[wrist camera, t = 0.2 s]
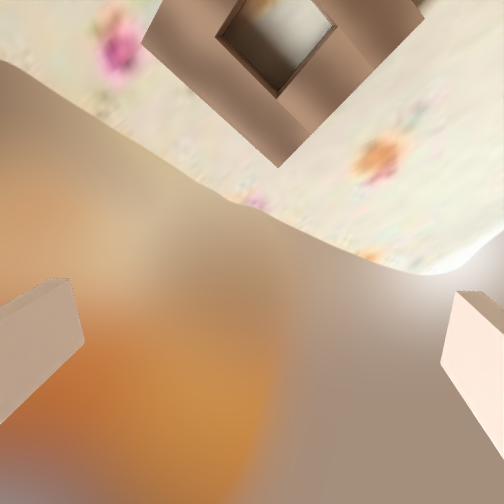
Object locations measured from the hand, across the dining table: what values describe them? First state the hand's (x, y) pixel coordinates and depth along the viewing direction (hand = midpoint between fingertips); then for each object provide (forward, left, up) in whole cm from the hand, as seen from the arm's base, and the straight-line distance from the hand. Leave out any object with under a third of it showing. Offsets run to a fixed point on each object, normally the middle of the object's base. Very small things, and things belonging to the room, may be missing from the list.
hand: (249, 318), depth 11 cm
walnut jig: (-6, -5, -27) cm, 28 cm away
